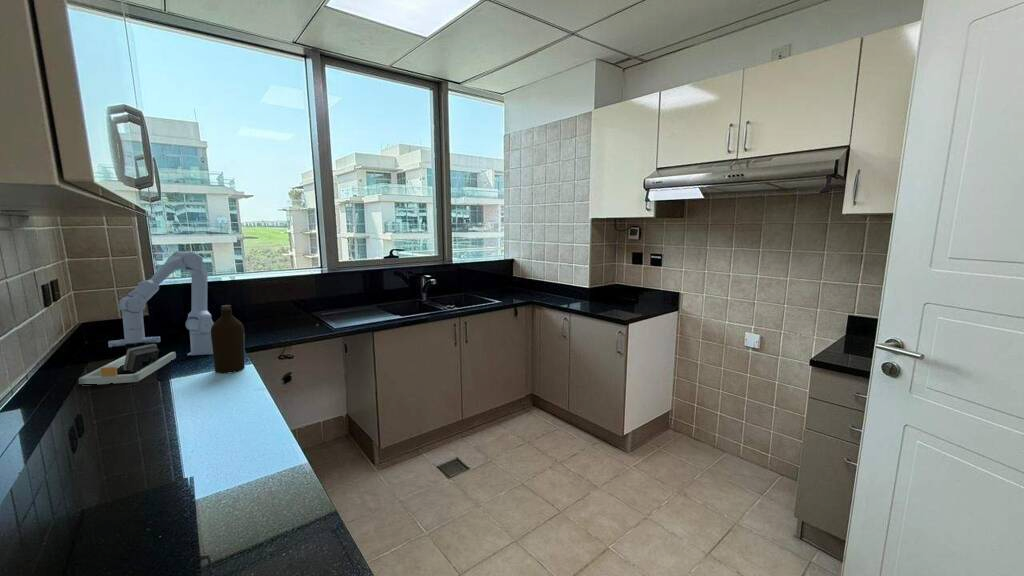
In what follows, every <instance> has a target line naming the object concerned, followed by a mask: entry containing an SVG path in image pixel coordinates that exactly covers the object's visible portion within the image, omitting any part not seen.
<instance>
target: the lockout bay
mask: <svg viewBox="0 0 1024 576" xmlns="http://www.w3.org/2000/svg"><path fill="white" fill-rule="evenodd" d="M125 358H126V354H125V355H123V356H121V357H119V358H118V359H116V360H114V361H111V362H109V363H107V364H105V365H103V366H101V367H99V368H97V369H95V370H92V371H91V372H88V373H87V374H85V375H83V376H81V377H79V378H78V385H79V384H97V385H109V384H110V383H113V384H123V383H124V384H126V383H128V384H129V383H137V382H139V381H141V380H143V379H144V378H146V377H148V376H149V375H151V374H152V373H154V372H155V371H158V370H159V369H161V368H163V367H164V366H165V365H166V364H168V363H170V362H171V360H172V361H173V360H175V359H176V358H177V353H176V351H171V352H169V353H168V354H166V355H164V356H162V357H160V358H158V359H157V361H155V362H153V363H152V364H150V365H148V366H147V367H145V368H143V369H142V370H140V371H136V372H134V373H127V374H118V369H119V368H120V366H121V367H123V366H124V363H125ZM122 365H123V366H122Z"/></svg>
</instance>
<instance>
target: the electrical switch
mask: <svg viewBox="0 0 1024 576" xmlns="http://www.w3.org/2000/svg"><path fill="white" fill-rule="evenodd" d="M159 353H160V349H159V348H158V345H157V344H156V343H149V344H145V345H144V346H140V347H135V348H130V349H128V350H126V354H125V355H126V358H125V363H124V365H123V366H122V368H123V370H124V371H125V372H126V371H130V372H131V373H136V372H138V371H139V370H142V369H143V368H145V367H147V366H148V365H150V364H152V363H153V362H155V361H157V360H158V358H159V357H158V356H159ZM135 371H136V372H135Z"/></svg>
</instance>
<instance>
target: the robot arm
mask: <svg viewBox="0 0 1024 576" xmlns="http://www.w3.org/2000/svg"><path fill="white" fill-rule="evenodd" d="M203 259H204V258H203V256H202V255H201V254H198V253H197V252H194V251H181V250H177V251H175V252H173V253H172V254H171V255H170V256H169V257H168V258H167V259H166V260H165V262H164V263H163V264H162V265H161V267H160V268H159V269H158V270H157V271H156V272H155V273H154V274H153V275H152V276H151V278H149V279H147V280H146V279H145V280H143V281H139V282H138V283H137V286H136V287H135V288H134V289H133V290H132V291H131V292H128V293H127V295H128V296H127V295H126V296H124V297H122V298H121V299H120V300H119V303H118V304H117V307H118V309H119V310H120V311H121V315H122V324H123V336H124V338H123V339H117V340H116V339H115V340H108V342H107V344H108V348H113V347H122V346H125V347H124V348H125V350H126V351H127V350H128V349H130V348H135V347H140V346H145V345H146V344H154V343H161V336H145V335H146V334H145V333H146V332H145V324H144V323H145V322H144V312H143V310H144V309H145V308H146V307H147V303H148V301H149V300H150V299H152V297H153V296H154V295H156V294H157V292H158V291H159V290H160V285H161V284H162V283H163V282H164V281H166V279H167V278H169V276H171V274H173V273H174V272H176V271H179V270H185V271H187V272H189V273H190V275H191V304H190V305H191V311H190V312H189V313H187V319H186V321H185V327H186V329H187V330H189V340H190V341H189V342H190V352H188V353H187V354H186V356H201V355H202V356H203V355H204V356H206V355H213V348H212V340H211V328H212V326H213V324H214V323H215V322H214V321H213V319H212V318H213V317H212V314H211V313H210V311H209V310H208V268H207V266H206V264H205V262H204V261H203Z"/></svg>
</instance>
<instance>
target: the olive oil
mask: <svg viewBox="0 0 1024 576" xmlns="http://www.w3.org/2000/svg"><path fill="white" fill-rule="evenodd" d="M220 306H221V307H220V308H221V309H220V313H221V315H220V317H219V318H218V319H217V320H216V321H215V322H213V323H214V324H213V326H212V328H211V340H212V348H213V354H212V356H213V364H214V365H213V366H214V371H215V373H217V374H229V373H228V372H232V373H235V372H234V371H237V372H239V371H238V370H240V371H242V370H244V369H245V327H244V325H243V323H242V321H240V320H239V319H238V318H236V317H235V316H234V315H233V309H232V305H231V304H225V305H220ZM243 368H244V369H243ZM241 369H242V370H241Z"/></svg>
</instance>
